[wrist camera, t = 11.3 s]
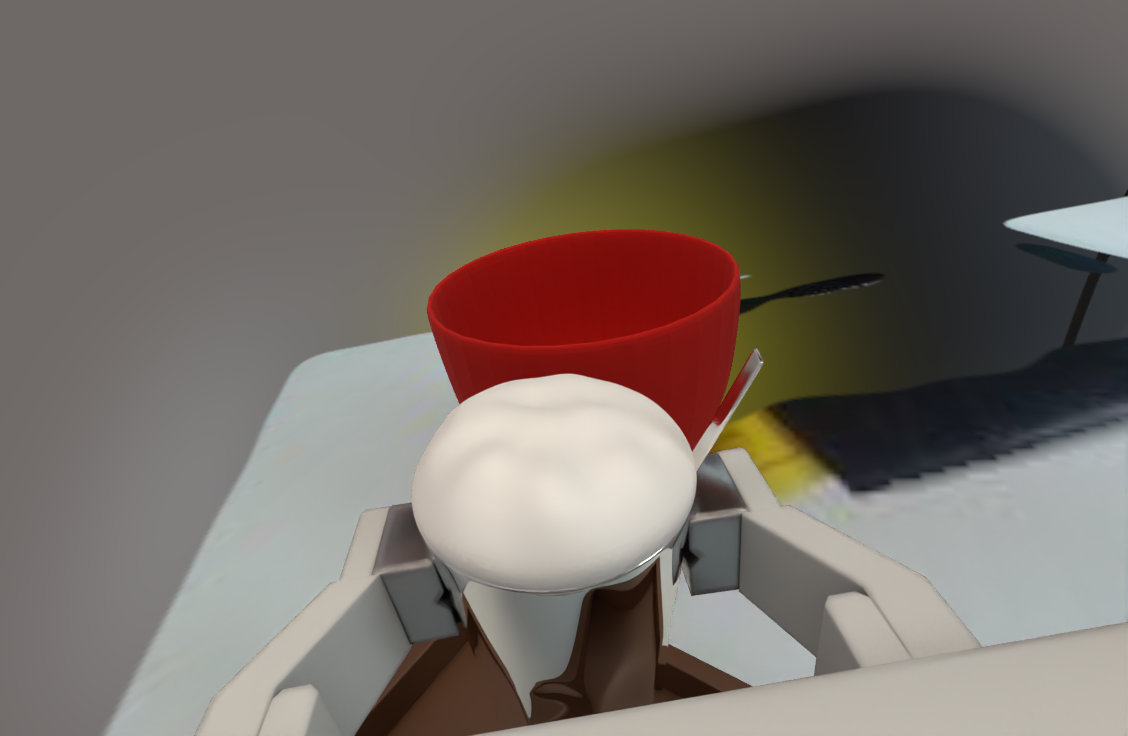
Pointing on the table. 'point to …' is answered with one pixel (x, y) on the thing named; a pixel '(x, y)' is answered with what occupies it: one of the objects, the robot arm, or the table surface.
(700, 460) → the milkshake
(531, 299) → the ceramic cup
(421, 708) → the tray
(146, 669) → the table surface
